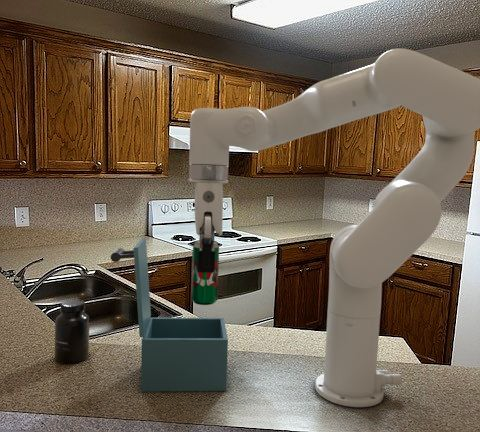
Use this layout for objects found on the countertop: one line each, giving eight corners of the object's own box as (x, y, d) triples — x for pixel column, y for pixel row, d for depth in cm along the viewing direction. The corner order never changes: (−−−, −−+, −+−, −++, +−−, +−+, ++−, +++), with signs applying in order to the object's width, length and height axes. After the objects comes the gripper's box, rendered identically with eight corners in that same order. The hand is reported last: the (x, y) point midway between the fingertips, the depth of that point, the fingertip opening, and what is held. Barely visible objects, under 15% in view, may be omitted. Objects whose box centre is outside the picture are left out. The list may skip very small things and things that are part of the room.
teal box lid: (145, 237, 92) (117, 238, 92) (137, 247, 80) (105, 249, 79) (151, 315, 94) (123, 317, 93) (144, 337, 81) (112, 339, 81)
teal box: (222, 362, 96) (223, 317, 95) (226, 390, 84) (227, 339, 83) (148, 362, 95) (149, 317, 94) (140, 391, 82) (141, 339, 81)
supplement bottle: (52, 365, 92) (52, 308, 91) (57, 352, 98) (57, 298, 97) (87, 363, 93) (88, 306, 92) (90, 350, 100) (90, 297, 99)
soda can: (217, 298, 91) (219, 239, 90) (217, 306, 86) (219, 243, 85) (192, 298, 91) (194, 239, 90) (190, 305, 86) (192, 242, 85)
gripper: (231, 176, 78) (227, 279, 80) (225, 175, 95) (222, 260, 97) (187, 174, 77) (185, 278, 79) (189, 174, 94) (187, 260, 96)
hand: (205, 267), depth 88 cm, fingers closed on soda can, 5 cm apart
